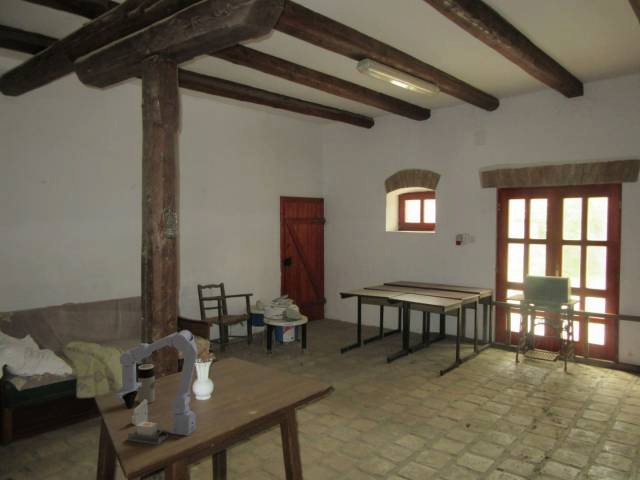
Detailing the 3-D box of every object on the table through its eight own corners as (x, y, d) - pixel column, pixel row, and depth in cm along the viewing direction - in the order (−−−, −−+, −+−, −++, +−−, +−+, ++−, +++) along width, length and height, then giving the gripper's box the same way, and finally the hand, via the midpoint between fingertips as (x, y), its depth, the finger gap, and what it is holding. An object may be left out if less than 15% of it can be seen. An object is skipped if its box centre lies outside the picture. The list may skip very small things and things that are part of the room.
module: (157, 434, 204) (156, 423, 204) (151, 439, 201) (151, 427, 200) (142, 432, 206) (142, 421, 206) (137, 436, 202) (136, 425, 202)
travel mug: (134, 402, 242) (134, 367, 240) (147, 396, 249) (146, 363, 248) (146, 405, 238) (145, 370, 237) (158, 399, 245) (157, 365, 244)
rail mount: (168, 436, 205) (168, 430, 205) (157, 444, 198) (157, 438, 198) (138, 432, 209) (138, 426, 209) (127, 439, 202) (127, 434, 202)
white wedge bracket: (156, 413, 223) (147, 400, 219) (139, 429, 217) (129, 416, 213) (151, 410, 226) (143, 398, 222) (134, 427, 219) (125, 414, 215)
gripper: (132, 371, 218) (132, 401, 218) (110, 382, 204) (110, 413, 204) (145, 373, 216) (145, 402, 216) (124, 384, 202) (124, 415, 203)
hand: (129, 408), depth 210 cm, fingers closed
